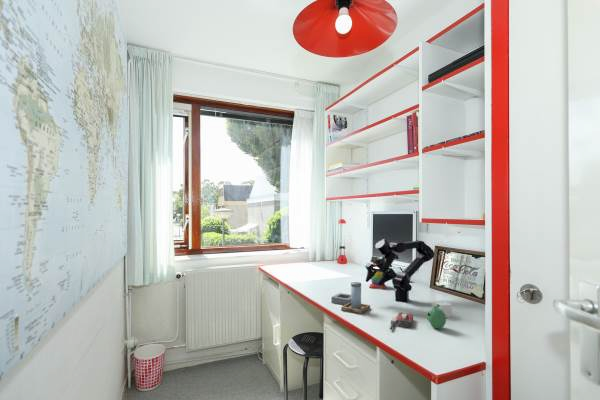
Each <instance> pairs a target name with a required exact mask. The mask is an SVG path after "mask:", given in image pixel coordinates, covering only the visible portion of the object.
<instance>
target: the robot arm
mask: <svg viewBox="0 0 600 400" xmlns="http://www.w3.org/2000/svg"><path fill="white" fill-rule="evenodd" d="M375 248H376V250H377V251H378V252H379V253H380V255H382V256H380V257H379V256H373V255H372V256H371V259H370V263H366V264H365V266H364V267H365V269H366V270H367V272H366V277H365V282H366V283H367V282H369V281H371V278H372V277H373V276H374V275H375V273H376V272H381V273H383V275H382V277H381V279H380V281H379V282H378V285H379V286H380V285H381V284H383V283H387V282H389V281H391V282H392V287H393V288H394V289H395V292H394V297H395V299H394V300H395V301H398V302H403V303H408V302H409V301H410V300H411V299H410V291H412V287H413V285H411V283H410V282H411V277H412V276H414V274H415V273H416V272H417V271H418V270H419V269H420V268H421V266H422V265H423V264H425V263H427V262H429V261H431V260H432V259H433V258H434V257H435V251H434V250H433V249H432V247H430V246H429V245H428V244H426V242H425V241H423V240H413V241H405V242H400V241H390V243H388V241H387V239H385V238H382V239H381V240H378V241H377V242H376V243H375ZM412 249H415V251H416V252H417V255H416V258H414V260H413V261H411V262H410V264H408V266H407V267H406V268H405V269H404V270H403V271H395V270H394V269H393V268H392V267H393V265H392V264H393V263H394V261H395V260H399V254H401V253H404V252H406V250H412ZM397 253H399V254H397ZM373 263H375V266H377V268H376V267H375V266H374V265H373Z"/></svg>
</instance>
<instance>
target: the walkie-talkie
mask: <svg viewBox="0 0 600 400" xmlns="http://www.w3.org/2000/svg"><path fill="white" fill-rule="evenodd" d="M413 323H414V315H413V313H409V312H401V311H400V312H399V313H398V314H397V316H395V317H392V318H391V320H390V327H389V330H390V331H392V330H393V329H394V326H395V327H402V328H408V329H411V328H412V326H413Z"/></svg>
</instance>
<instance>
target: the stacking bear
mask: <svg viewBox="0 0 600 400" xmlns="http://www.w3.org/2000/svg"><path fill="white" fill-rule="evenodd" d="M372 264H373V265H374V266H375V263H373V262H372ZM375 267H376V268H377V266H375ZM382 275H383V273H381V272H376V273H375V275H374V276H373V277H372V278H371V279H370V281H371V284H369V288H370V289H377V290H378V289H380V290H387V285H386V284H385V283H386V282H385V283H383V284H381V285H380V286H379V285H378V282H379V281H380V279H381V277H382Z"/></svg>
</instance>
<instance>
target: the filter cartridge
mask: <svg viewBox="0 0 600 400" xmlns="http://www.w3.org/2000/svg"><path fill="white" fill-rule="evenodd" d="M350 295H351V308H353V309H361V304H362V283H361V282H358V281H353V282H350Z"/></svg>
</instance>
